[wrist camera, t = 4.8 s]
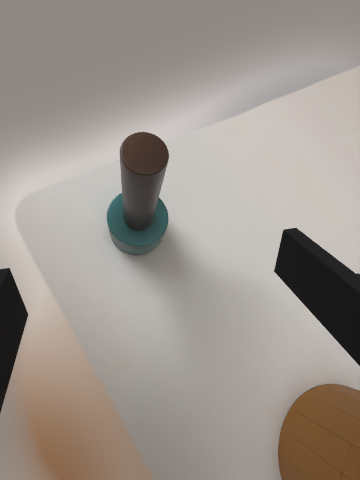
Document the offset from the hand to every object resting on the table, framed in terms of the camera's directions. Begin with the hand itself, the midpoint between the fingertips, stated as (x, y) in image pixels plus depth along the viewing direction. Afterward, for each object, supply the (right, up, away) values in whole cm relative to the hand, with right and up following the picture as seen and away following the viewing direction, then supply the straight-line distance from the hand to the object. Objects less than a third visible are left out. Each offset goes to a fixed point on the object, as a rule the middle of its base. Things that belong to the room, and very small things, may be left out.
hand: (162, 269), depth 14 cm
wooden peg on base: (-3, +2, +12) cm, 13 cm away
